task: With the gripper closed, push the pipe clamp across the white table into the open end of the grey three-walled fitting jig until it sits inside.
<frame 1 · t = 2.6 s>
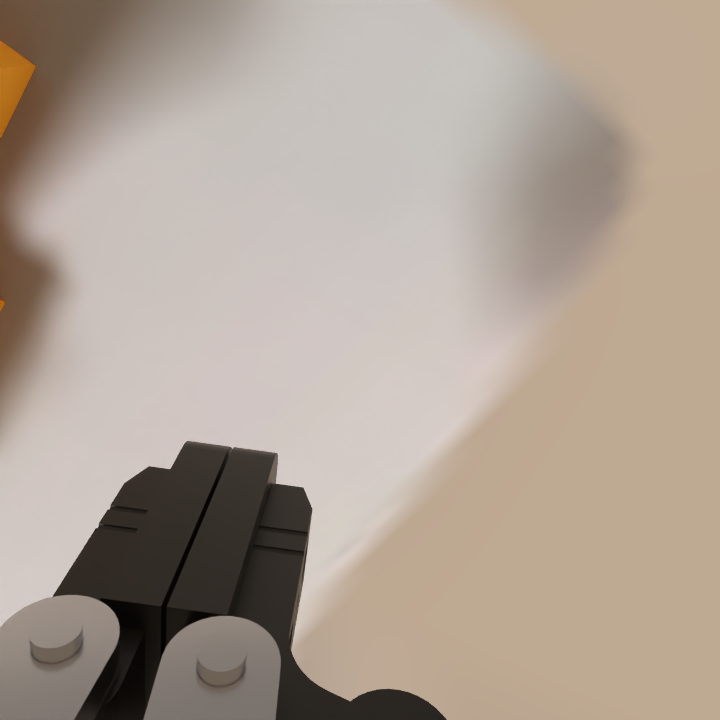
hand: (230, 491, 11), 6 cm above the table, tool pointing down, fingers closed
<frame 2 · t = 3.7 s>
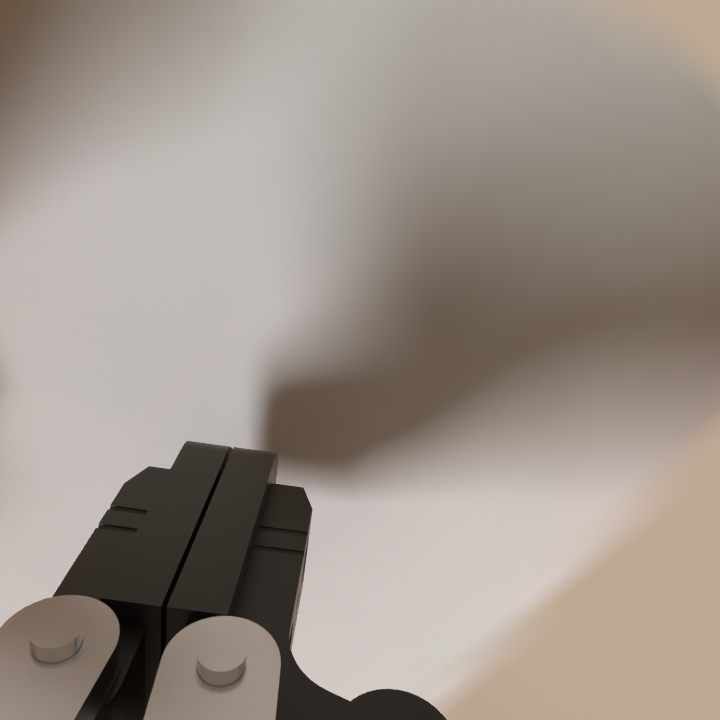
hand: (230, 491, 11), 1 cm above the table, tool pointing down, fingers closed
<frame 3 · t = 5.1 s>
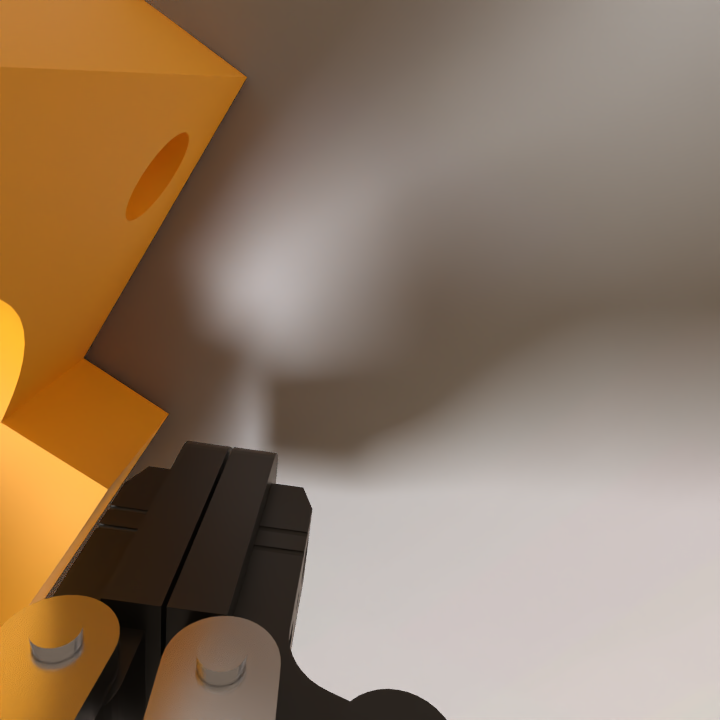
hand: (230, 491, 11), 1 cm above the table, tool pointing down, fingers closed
pipe clamp: (57, 359, 12), on the table
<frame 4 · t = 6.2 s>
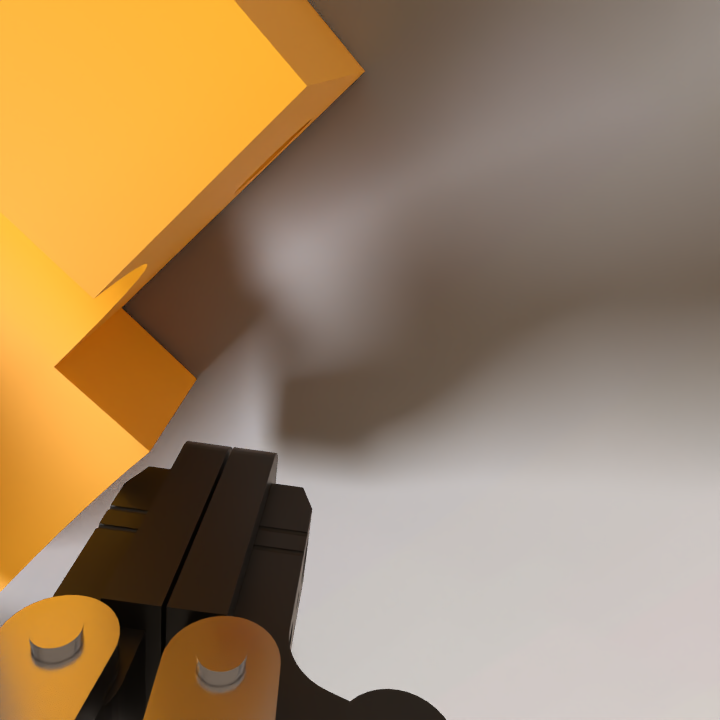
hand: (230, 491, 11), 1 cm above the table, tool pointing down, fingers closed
pipe clamp: (90, 303, 12), on the table, touching fitting jig, gripper, hand
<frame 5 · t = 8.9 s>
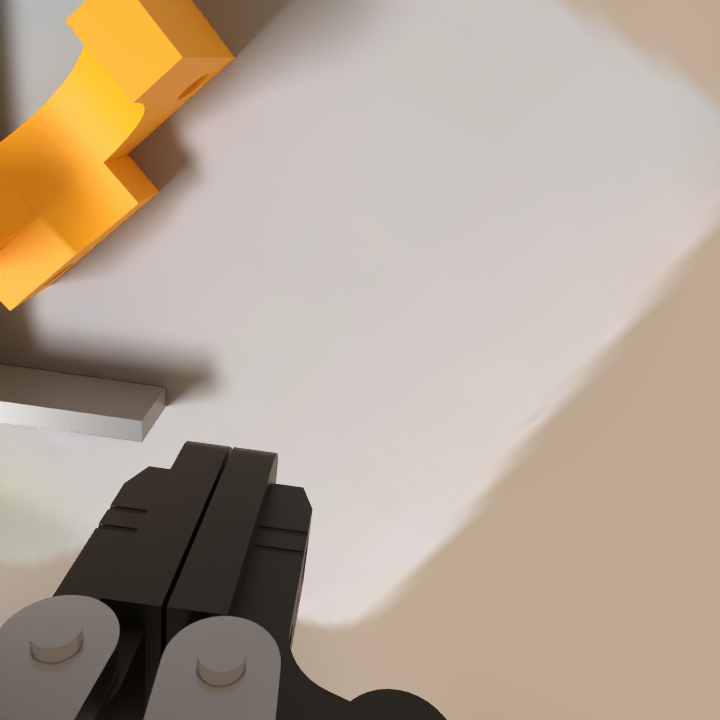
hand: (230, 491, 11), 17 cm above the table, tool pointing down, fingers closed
pipe clamp: (114, 151, 26), on the table
fitting jig: (54, 203, 26), on the table
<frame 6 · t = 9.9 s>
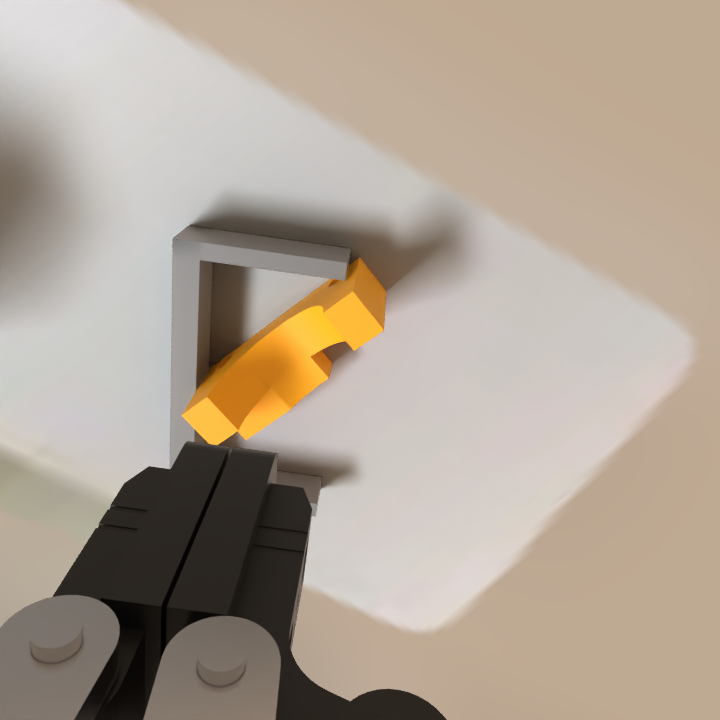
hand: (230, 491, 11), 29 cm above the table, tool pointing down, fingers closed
pipe clamp: (305, 338, 42), on the table
fitting jig: (264, 368, 42), on the table
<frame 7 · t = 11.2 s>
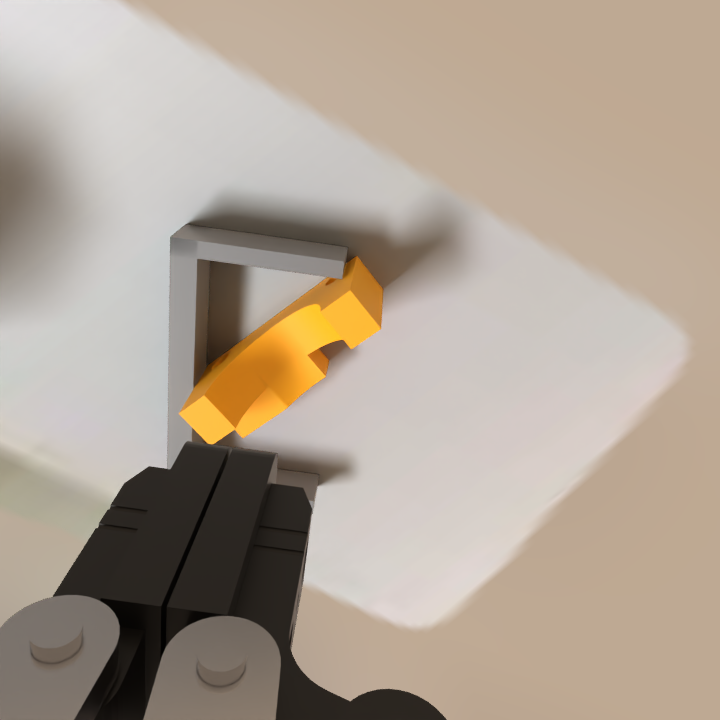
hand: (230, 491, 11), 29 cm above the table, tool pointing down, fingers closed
pipe clamp: (302, 337, 42), on the table
fitting jig: (261, 366, 43), on the table
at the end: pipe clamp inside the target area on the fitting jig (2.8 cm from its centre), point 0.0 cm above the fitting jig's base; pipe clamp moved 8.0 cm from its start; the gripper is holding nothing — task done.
